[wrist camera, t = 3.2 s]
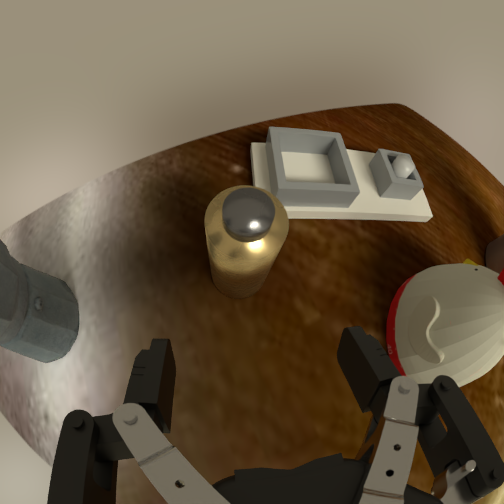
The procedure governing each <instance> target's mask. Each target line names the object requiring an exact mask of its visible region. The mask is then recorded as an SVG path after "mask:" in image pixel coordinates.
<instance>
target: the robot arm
mask: <svg viewBox="0 0 504 504" xmlns="http://www.w3.org/2000/svg"><path fill="white" fill-rule="evenodd" d="M486 267H487V268H490V269H491V270H492V271H494V272H496V273H498V274H500V273H501V271H502V270H503V269H504V234H503V235H501V236H500V237H498V238H497V239H495V240H493V241H492V242H490V243H489V244H488V245H487V248H486ZM337 359H338V363H339V365H340V367H341V369H342V371H343V373H344V375H345V377H346V379H347V381H348V383H349V385H350V387H351V389H352V391H353V394H354V396H355V398H356V400H357V402H358V404H359V406H360V408H361V410H362V412H363V413H364V412H368V411H372V413H373V415H372V417H371V419H370V422H369V425H368V428H367V431H366V434H365V437H364V440H363V443H362V446H361V448H360V450H359V452H358V454H357V455H356V457H355V459H346V458H343V457H342V454H341V453H339V454H335V455H331V456H327V457H323V458H318V459H315V460H313V461H311V462H309V463H306V464H304V465H302V466H299V467H297V468H295V469H291V470H285V469H271V468H253V469H240V470H234V473H235V475H233V476H230V477H227V478H224V479H222V480H220V481H218V482H216V483H215V484H213V485H212V486H211V485H210V484H209V483H208V482H207V481H206V480H205V479H204V478H203V477H202V476H201V475H200V474H199V473H198V472H197V471H196V470H195V469H194V467H193V466H192V465H191V464H190V463H189V462H188V461H187V460H186V459H185V458H184V456H183V455H182V454H181V453H180V452H179V451H178V450H177V449H176V448H175V447H174V446H172V445H171V444H170V442H169V441H168V440H167V439H166V438H165V436H164V435H163V433H170V429H171V417H172V405H173V395H174V386H175V377H176V366H175V360H174V356H173V351H172V347H171V342H170V339H152V342H151V346H150V350H141V352H140V353H139V354H138V355H137V356H136V358H135V361H134V365H133V368H132V372H131V376H130V379H129V383H128V387H127V391H126V395H125V399H124V403H123V405H121V406H119V407H118V408H117V409H116V410H115V411H114V413H112V414H109V415H103V416H95V417H92V416H91V415H90V414H89V413H88V412H86V411H84V410H74V411H72V412H70V413H69V414H67V416H66V417H65V419H64V421H63V425H62V429H61V433H60V437H59V441H58V445H57V449H56V454H55V459H54V464H53V469H52V474H51V481H50V487H49V494H48V502H47V504H116V482H117V468H118V460H122V459H129V458H135V459H136V460H137V462H138V463H139V466H140V468H141V469H142V470H143V472H144V473H145V475H146V476H147V477H148V479H149V480H150V481H151V483H152V484H153V485H154V487H155V488H156V489H157V490H158V492H159V493H160V494H161V495H162V497H163V498H164V499H165V500H166V501H167V503H168V504H472V503H474V502H475V501H477V500H479V499H481V498H482V497H484V496H486V495H487V494H489V493H490V492H492V491H494V490H495V489H497V488H498V487H500V486H501V485H502V484H503V482H504V463H503V461H502V459H501V457H500V455H499V453H498V451H497V449H496V448H495V446H494V444H493V442H492V440H491V438H490V437H489V435H488V433H487V431H486V430H485V428H484V426H483V425H482V423H481V421H480V420H479V418H478V416H477V415H476V413H475V411H474V410H473V408H472V407H471V405H470V403H469V402H468V400H467V399H466V397H465V396H464V394H463V393H462V391H461V390H460V388H459V387H458V385H457V384H456V382H455V381H454V380H453V379H452V378H451V377H449V376H446V375H439V376H437V377H436V378H435V379H434V380H433V382H432V383H428V384H417V383H416V381H415V380H413V379H412V378H410V377H407V376H402V375H401V374H400V372H399V371H398V369H397V368H396V366H395V365H394V363H393V362H392V360H391V359H390V357H389V356H388V355H387V353H386V352H385V350H384V349H383V347H382V346H381V344H380V343H379V341H378V340H377V339H375V338H374V337H373V336H371V335H366V333H365V332H364V330H363V329H362V327H360V326H355V327H348V328H344V330H343V333H342V337H341V340H340V344H339V347H338V351H337ZM439 414H440V415H441V417H442V419H443V420H444V422H445V424H446V426H447V429H448V432H446V430H445V428H444V426H443V425H442V423H441V421H440V419H439V417H438V415H439ZM417 439H418V441H419V443H420V445H421V447H422V450H423V452H424V454H425V456H426V458H427V461H428V463H429V465H430V468H431V470H432V472H433V475H434V477H435V479H434V482H433V487H432V488H431V493H432V495H431V494H428V493H426V492H424V491H421V490H419V489H417V488H415V487H412V486H410V485H408V484H406V483H407V480H408V476H409V472H410V469H411V464H412V460H413V456H414V451H415V446H416V441H417ZM433 495H434V496H433Z"/></svg>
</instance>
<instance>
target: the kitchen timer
mask: <svg viewBox="0 0 504 504" xmlns="http://www.w3.org/2000/svg"><path fill="white" fill-rule="evenodd" d="M386 342H387V347H388V353H389V357H390V359H391V360H392V362H393V363H394V365H395V366H396V368H397V369H398V371H399V372H400V374H401V375H402V376H407V377H410V378H412V379H413V380H415V381H416V383H417V384H428V383H432V382H433V380H434V379H435V378H436V377H437V376H439V375H446V376H449V377H451V378H452V379H453V380H454V381H455V382H456V384H457V385H458V387H461V386H463V385H465V384H467V383H469V382H471V381H473V380H475V379H477V378H479V377H481V376H482V375H484V374H485V373H487V372H488V371H489V370H490V369H491V368H493V367H494V366H495V365H496V363H497V362H498V361H499V360H500V359H501V358H502V356H503V355H504V269H503V270H502V271H501V273H500V274H498V273H496V272H494V271H492V270H491V269H490V268H486V267H484V266H481V265H477V264H476V263H474V262H473V261H471V260H470V259H466V260H465V262H464V263H463V264H447V265H438V266H433V267H430V268H427V269H425V270H423V271H421V272H419V273H417V274H415V275H413V276H412V277H410V278H408V279H407V280H406V281H405V282H404V283H403V284H402V285H401V286H400V287H399V288H398V290H397V292H396V294H395V296H394V298H393V300H392V302H391V305H390V309H389V314H388V318H387V329H386Z"/></svg>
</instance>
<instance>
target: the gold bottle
mask: <svg viewBox="0 0 504 504" xmlns="http://www.w3.org/2000/svg"><path fill="white" fill-rule="evenodd" d="M204 222H205V232H206V239H207V246H208V254H209V261H210V268H211V274H212V280H213V283H214V285H215V286H216V288H217V289H218V290H219V291H220V292H221V293H222V294H223V295H225V296H227V297H230V298H234V299H244V298H247V297H250V296H252V295H254V294H255V293H256V292H257V291H258V290H259V289H260V288H261V286H262V284H263V282H264V280H265V278H266V276H267V274H268V272H269V271H270V269H271V267H272V265H273V263H274V261H275V259H276V257H277V255H278V253H279V251H280V249H281V247H282V245H283V243H284V241H285V239H286V236H287V234H288V229H289V220H288V215H287V212H286V210H285V208H284V206H283V205H282V203H281V202H280V201H279V200H278V198H276V197H275V196H274V195H273V194H271V193H270V192H268V191H266V190H264V189H262V188H259V187H255V186H247V185H243V186H235V187H231V188H228V189H226V190H224V191H222V192H221V193H219V194H218V195H217V196H216V197H215V198H214V199H213V200H212V201H211V202H210V204H209V206H208V208H207V210H206V213H205V220H204Z"/></svg>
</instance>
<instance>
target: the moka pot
mask: <svg viewBox="0 0 504 504" xmlns="http://www.w3.org/2000/svg"><path fill="white" fill-rule="evenodd" d="M78 327H79V313H78V304H77V301H76V299H75V297H74V295H73V293H72V292H71V290H70V289H69V287H68V286H67V284H66V283H65V282H64V281H62V280H60V279H58V278H55V277H53V276H50V275H48V274H45V273H42V272H40V271H37V270H35V269H32V268H30V267H28V266H26V265H23V264H20V263H19V262H18V261H16V260H15V259H14V258H13V257H12V256H10V254H9V251H8V249H7V247H6V245H5V244H4V243H3V242H2V241H1V240H0V346H2V347H4V348H6V349H9V350H11V351H14V352H17V353H19V354H22V355H24V356H27V357H30V358H32V359H35V360H38V361H41V362H44V363H48V362H52V361H55V360H57V359H60V358H63V357H64V356H65V355H66V354H67V353H68V352H69V350H70V349H71V347H72V345H73V344H74V342H75V340H76V337H77V334H78Z"/></svg>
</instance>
